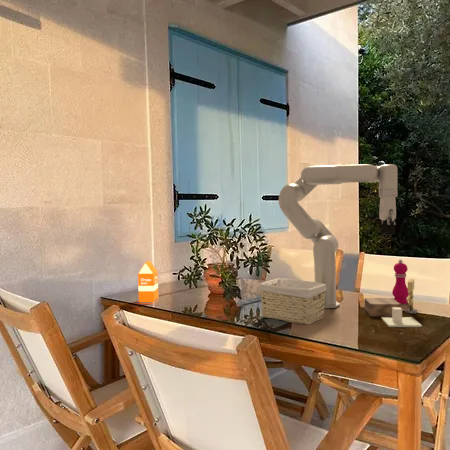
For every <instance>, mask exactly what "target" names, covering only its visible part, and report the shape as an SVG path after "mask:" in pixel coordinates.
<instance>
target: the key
mask: <svg viewBox="0 0 450 450" xmlns="http://www.w3.org/2000/svg"><path fill="white" fill-rule="evenodd" d="M407 288H408V292H409V295H408V297H407V301H408V309H409V310H413V309H414V290H415V279H414V278H410V279H409V280H408V281H407Z"/></svg>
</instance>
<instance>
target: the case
mask: <svg viewBox="0 0 450 450" xmlns="http://www.w3.org/2000/svg"><path fill="white" fill-rule="evenodd" d="M363 301H364V304H363V305H364V307H363V310H364V311H365V312H366V313H367V315H369V317H392V307H400V308H401V304H400V303H398V302H397V301H396V300H395V299H394V297H364V300H363Z"/></svg>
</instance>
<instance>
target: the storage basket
mask: <svg viewBox="0 0 450 450" xmlns="http://www.w3.org/2000/svg"><path fill="white" fill-rule="evenodd" d="M326 289H327V288H326V284H322V283H317V282H315V281H307V280H298V279H291V278H280V277H277V278H275V279H271V280H270V279H269V280H267V281H263V282H260V283H259V285H258V290H259V291H260V302H261V312H262V317H264V318H268V319H273V320H274V319H275V320H279V321H280V320H282V321H285V322H288V323H297V324H300V325H307V326H308V325H310V324H313V323H315V322H317V321H319V320H322V319H323V318H324V314H325V308H324V307H325V306H324V303H325V291H326Z"/></svg>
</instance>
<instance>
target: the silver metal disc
mask: <svg viewBox="0 0 450 450" xmlns="http://www.w3.org/2000/svg"><path fill="white" fill-rule="evenodd" d="M417 312H418V311H417V309H414V308H413V310H409V308H407V309H405V313H406V314H409V315H416V314H417Z"/></svg>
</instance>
